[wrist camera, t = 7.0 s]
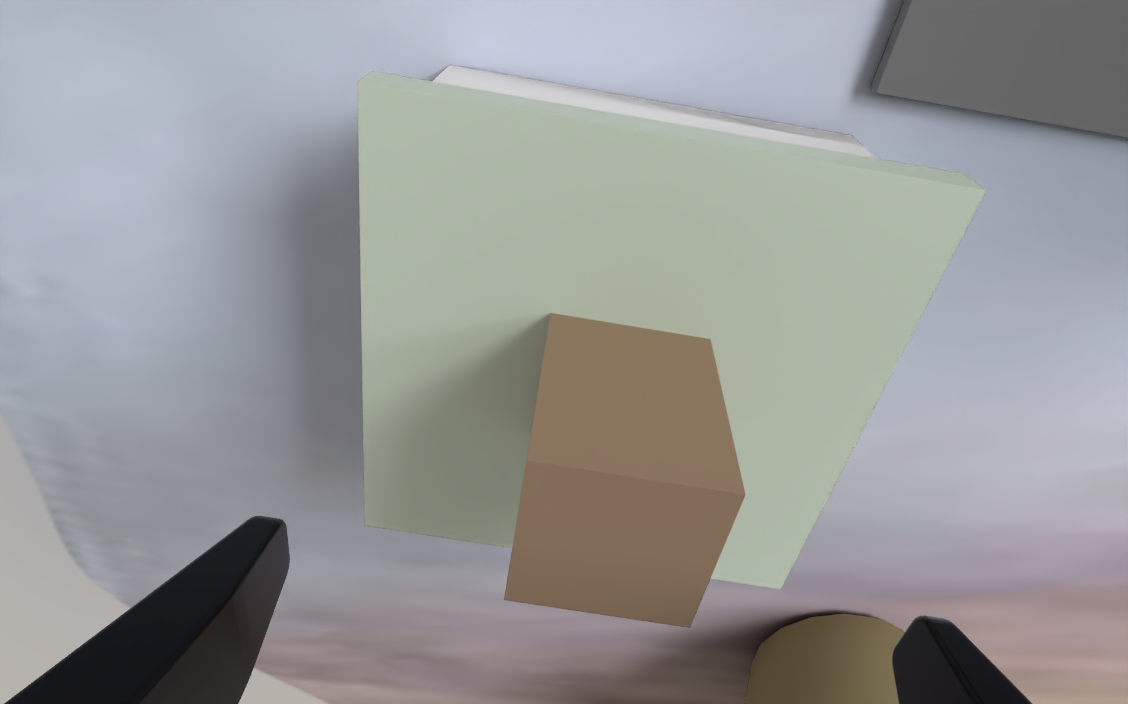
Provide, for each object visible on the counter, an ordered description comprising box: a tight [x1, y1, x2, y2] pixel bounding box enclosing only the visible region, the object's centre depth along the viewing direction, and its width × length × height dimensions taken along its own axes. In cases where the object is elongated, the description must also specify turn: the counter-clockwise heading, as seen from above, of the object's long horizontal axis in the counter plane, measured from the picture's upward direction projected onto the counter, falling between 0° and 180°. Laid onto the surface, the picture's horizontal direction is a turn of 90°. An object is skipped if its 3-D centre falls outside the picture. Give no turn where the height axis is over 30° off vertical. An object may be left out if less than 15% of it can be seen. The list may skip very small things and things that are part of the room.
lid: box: [357, 71, 986, 628], centre depth 12 cm, size 10×10×5 cm
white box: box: [433, 65, 876, 158], centre depth 16 cm, size 9×9×4 cm
